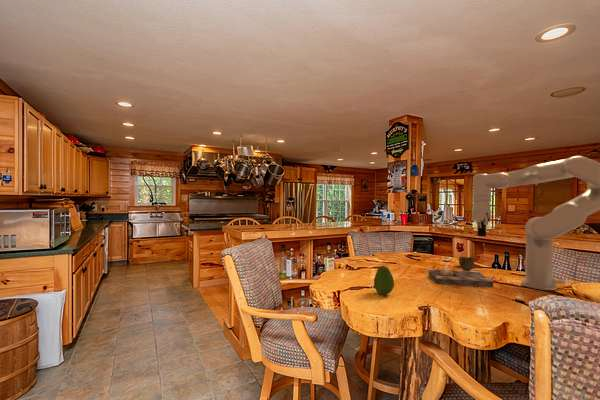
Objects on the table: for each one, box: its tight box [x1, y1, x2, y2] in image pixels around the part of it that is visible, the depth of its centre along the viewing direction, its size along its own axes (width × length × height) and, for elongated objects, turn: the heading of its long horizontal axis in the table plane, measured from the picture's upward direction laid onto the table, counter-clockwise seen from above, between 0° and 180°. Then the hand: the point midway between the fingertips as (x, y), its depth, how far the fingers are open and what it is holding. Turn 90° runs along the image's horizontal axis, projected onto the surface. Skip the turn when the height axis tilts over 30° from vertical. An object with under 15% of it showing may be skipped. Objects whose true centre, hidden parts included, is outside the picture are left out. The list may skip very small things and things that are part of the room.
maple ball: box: [439, 267, 453, 277], centre depth 141 cm, size 6×6×6 cm
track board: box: [428, 268, 494, 288], centre depth 140 cm, size 24×14×4 cm, turn 80°
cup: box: [458, 256, 476, 271], centre depth 156 cm, size 8×7×8 cm
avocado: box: [373, 265, 395, 296], centre depth 120 cm, size 8×8×12 cm
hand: (481, 236), depth 143 cm, fingers closed
